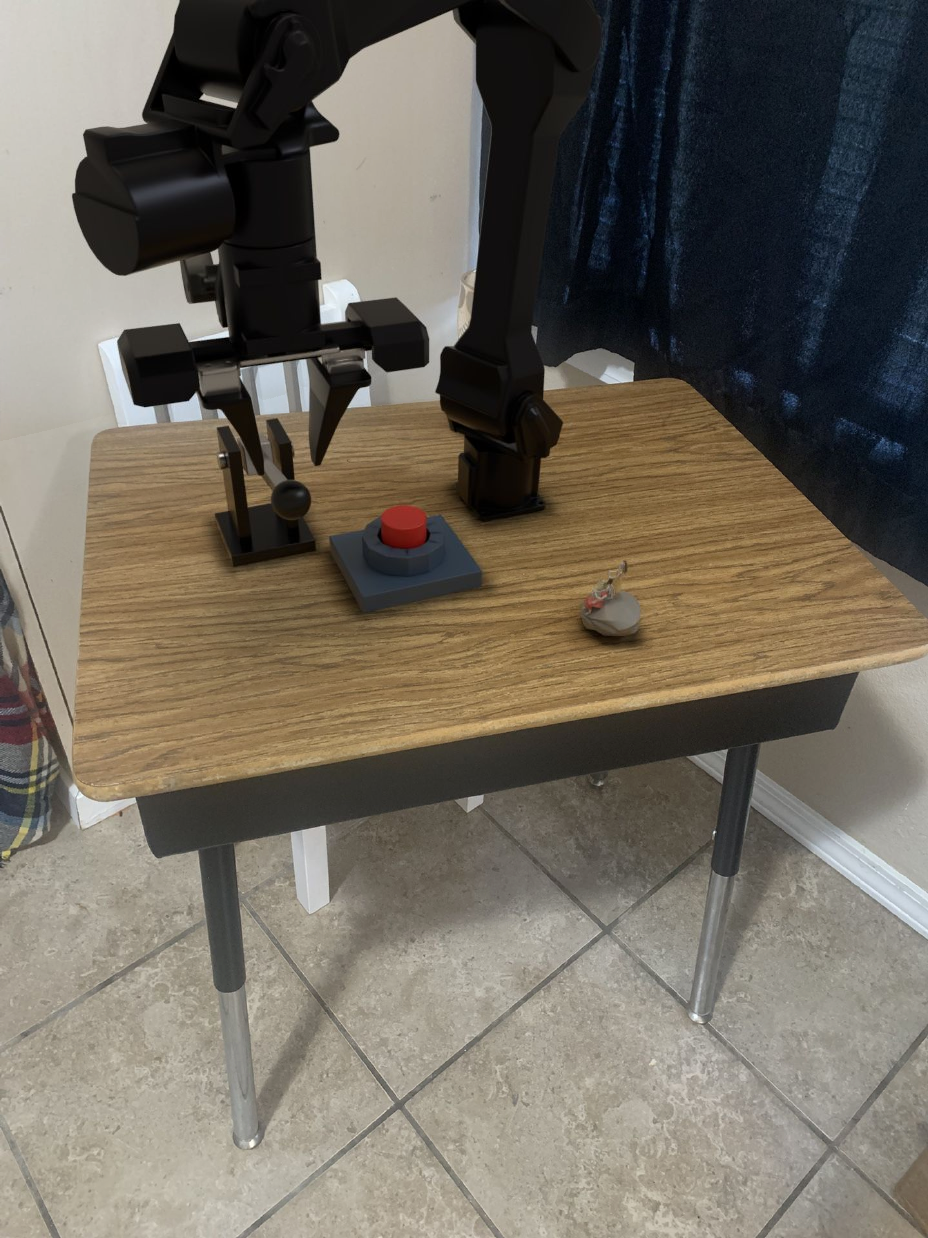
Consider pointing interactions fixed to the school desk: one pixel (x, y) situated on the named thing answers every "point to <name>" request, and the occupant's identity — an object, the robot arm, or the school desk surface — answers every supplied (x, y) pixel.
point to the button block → (403, 566)
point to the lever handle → (279, 484)
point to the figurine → (611, 607)
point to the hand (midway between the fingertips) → (288, 467)
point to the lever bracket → (259, 526)
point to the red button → (403, 527)
